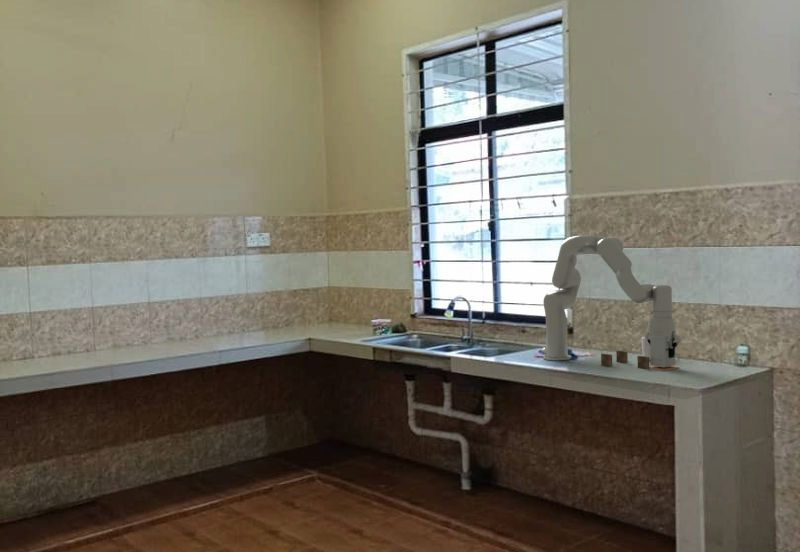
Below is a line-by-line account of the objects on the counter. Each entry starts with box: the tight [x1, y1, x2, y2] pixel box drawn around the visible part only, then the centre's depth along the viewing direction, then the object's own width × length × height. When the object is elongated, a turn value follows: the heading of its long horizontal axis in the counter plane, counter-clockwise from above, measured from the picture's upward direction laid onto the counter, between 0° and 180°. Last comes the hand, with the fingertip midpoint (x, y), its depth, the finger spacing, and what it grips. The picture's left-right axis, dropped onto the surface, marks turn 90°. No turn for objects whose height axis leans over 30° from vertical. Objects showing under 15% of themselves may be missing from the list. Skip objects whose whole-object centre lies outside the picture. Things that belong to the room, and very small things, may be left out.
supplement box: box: [650, 336, 676, 367], centre depth 319 cm, size 7×7×13 cm
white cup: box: [640, 335, 651, 361], centre depth 341 cm, size 8×8×10 cm
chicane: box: [600, 350, 651, 370], centre depth 328 cm, size 20×17×5 cm
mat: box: [649, 365, 680, 372], centre depth 319 cm, size 9×9×1 cm
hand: (662, 356), depth 319 cm, fingers closed on supplement box, 7 cm apart
